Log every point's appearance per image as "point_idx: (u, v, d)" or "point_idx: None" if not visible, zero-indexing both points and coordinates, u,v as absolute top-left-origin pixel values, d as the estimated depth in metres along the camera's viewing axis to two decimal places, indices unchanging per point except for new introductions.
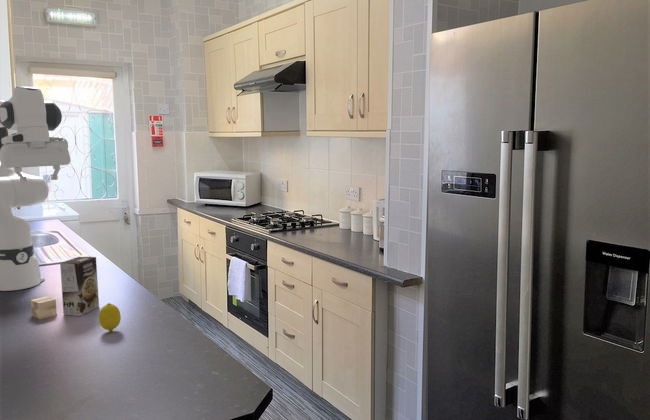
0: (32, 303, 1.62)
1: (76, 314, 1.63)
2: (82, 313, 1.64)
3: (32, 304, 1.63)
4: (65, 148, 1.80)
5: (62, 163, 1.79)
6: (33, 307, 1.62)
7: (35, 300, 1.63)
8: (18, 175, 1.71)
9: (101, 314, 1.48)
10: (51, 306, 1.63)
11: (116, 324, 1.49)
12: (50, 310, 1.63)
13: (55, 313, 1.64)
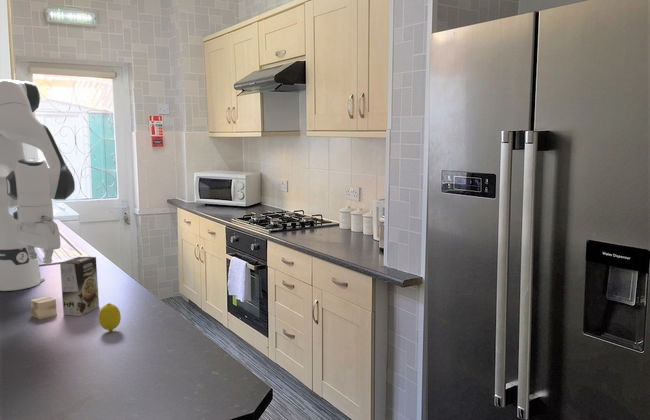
0: (32, 303, 1.62)
1: (76, 314, 1.63)
2: (82, 313, 1.64)
3: (32, 304, 1.63)
4: (44, 231, 1.54)
5: (44, 248, 1.55)
6: (33, 307, 1.62)
7: (35, 300, 1.63)
8: None
9: (101, 314, 1.48)
10: (51, 306, 1.63)
11: (116, 324, 1.49)
12: (50, 310, 1.63)
13: (55, 313, 1.64)
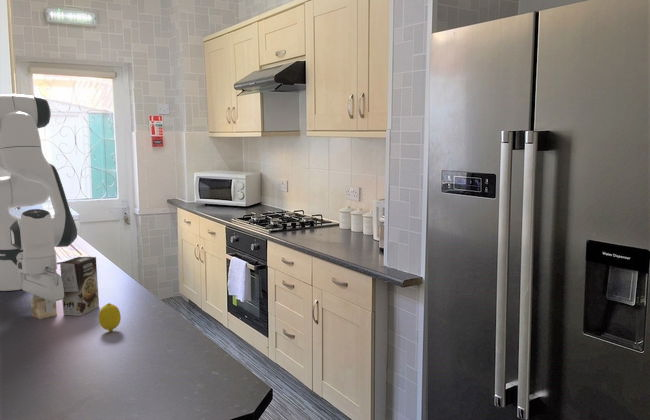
0: (32, 303, 1.62)
1: (76, 314, 1.63)
2: (82, 313, 1.64)
3: (32, 304, 1.63)
4: (48, 283, 1.56)
5: (48, 299, 1.57)
6: (33, 307, 1.62)
7: (35, 300, 1.63)
8: None
9: (101, 314, 1.48)
10: None
11: (116, 324, 1.49)
12: None
13: (55, 313, 1.64)
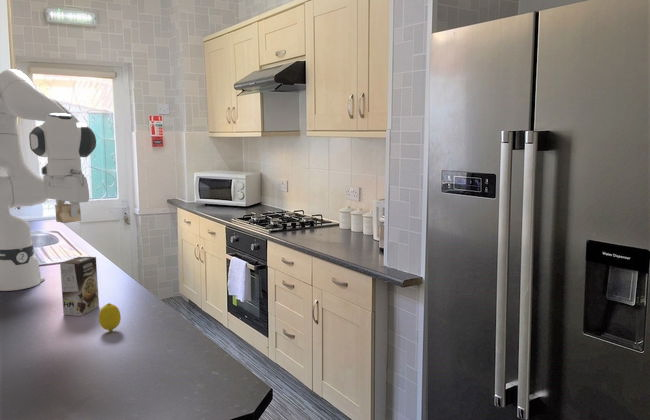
0: (57, 207, 1.61)
1: (76, 314, 1.63)
2: (82, 313, 1.64)
3: (56, 209, 1.62)
4: (74, 183, 1.55)
5: (73, 200, 1.56)
6: (57, 211, 1.61)
7: (59, 205, 1.62)
8: None
9: (101, 314, 1.48)
10: None
11: (116, 324, 1.49)
12: None
13: (79, 218, 1.63)
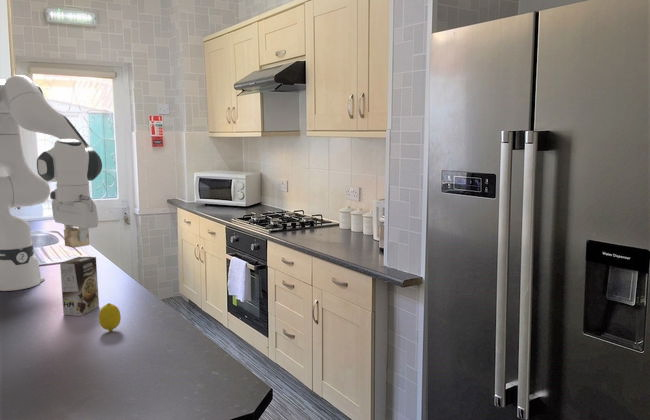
0: (66, 232, 1.63)
1: (76, 314, 1.63)
2: (82, 313, 1.64)
3: (65, 233, 1.64)
4: (83, 210, 1.57)
5: (82, 226, 1.58)
6: (66, 236, 1.63)
7: (68, 229, 1.64)
8: None
9: (101, 314, 1.48)
10: None
11: (116, 324, 1.49)
12: None
13: (88, 243, 1.65)
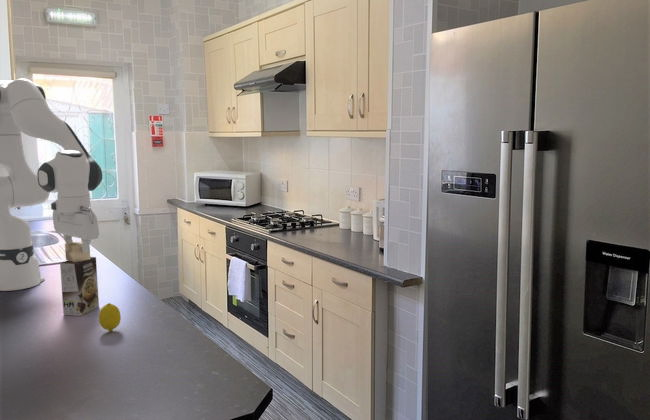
0: (67, 246, 1.64)
1: (76, 314, 1.63)
2: (82, 313, 1.64)
3: (66, 247, 1.64)
4: (84, 221, 1.57)
5: (83, 237, 1.59)
6: (67, 250, 1.64)
7: (69, 243, 1.64)
8: None
9: (101, 314, 1.48)
10: None
11: (116, 324, 1.49)
12: (84, 253, 1.64)
13: (89, 257, 1.66)
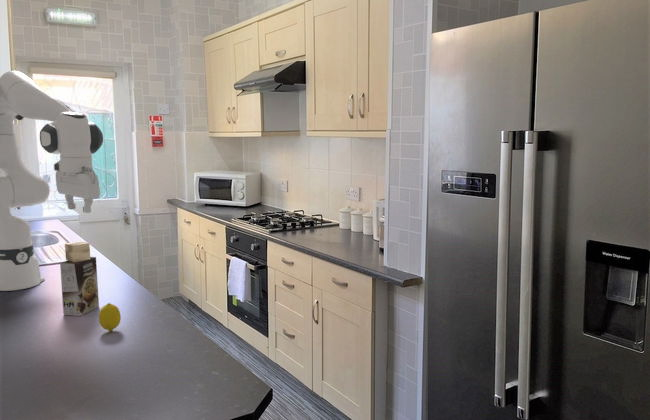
0: (67, 246, 1.64)
1: (76, 314, 1.63)
2: (82, 313, 1.64)
3: (66, 247, 1.64)
4: (85, 181, 1.61)
5: (84, 197, 1.63)
6: (67, 250, 1.64)
7: (69, 243, 1.64)
8: None
9: (101, 314, 1.48)
10: (85, 250, 1.65)
11: (116, 324, 1.49)
12: (84, 253, 1.64)
13: (89, 257, 1.66)
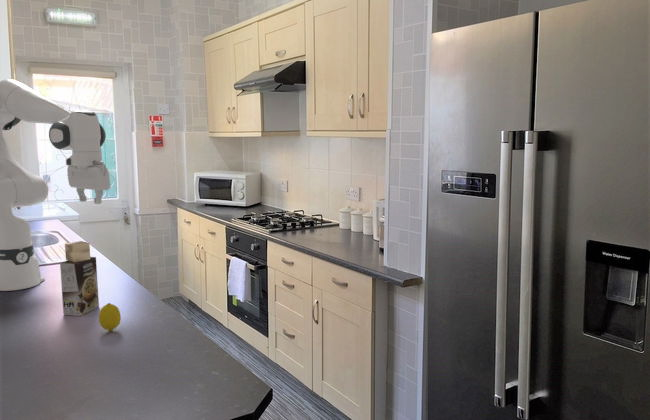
0: (67, 246, 1.64)
1: (76, 314, 1.63)
2: (82, 313, 1.64)
3: (66, 247, 1.64)
4: (97, 173, 1.73)
5: (95, 189, 1.74)
6: (67, 250, 1.64)
7: (69, 243, 1.64)
8: None
9: (101, 314, 1.48)
10: (85, 250, 1.65)
11: (116, 324, 1.49)
12: (84, 253, 1.64)
13: (89, 257, 1.66)
